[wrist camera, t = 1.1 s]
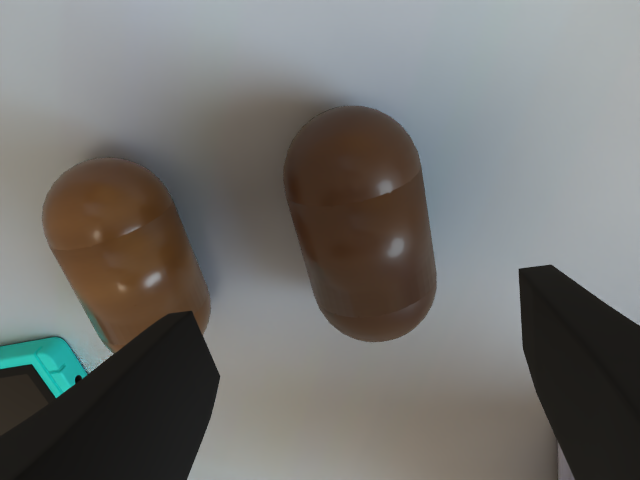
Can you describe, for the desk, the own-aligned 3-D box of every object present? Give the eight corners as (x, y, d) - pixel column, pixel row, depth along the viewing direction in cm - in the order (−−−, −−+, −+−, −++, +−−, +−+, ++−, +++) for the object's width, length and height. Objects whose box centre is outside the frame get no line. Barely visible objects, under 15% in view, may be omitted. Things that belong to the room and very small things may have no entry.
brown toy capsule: (437, 288, 18) (450, 363, 14) (333, 301, 18) (320, 375, 15) (407, 79, 14) (414, 110, 11) (281, 107, 15) (250, 143, 12)
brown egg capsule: (237, 312, 19) (204, 385, 16) (150, 323, 20) (100, 394, 17) (169, 131, 16) (108, 172, 13) (68, 153, 17) (-16, 197, 13)
